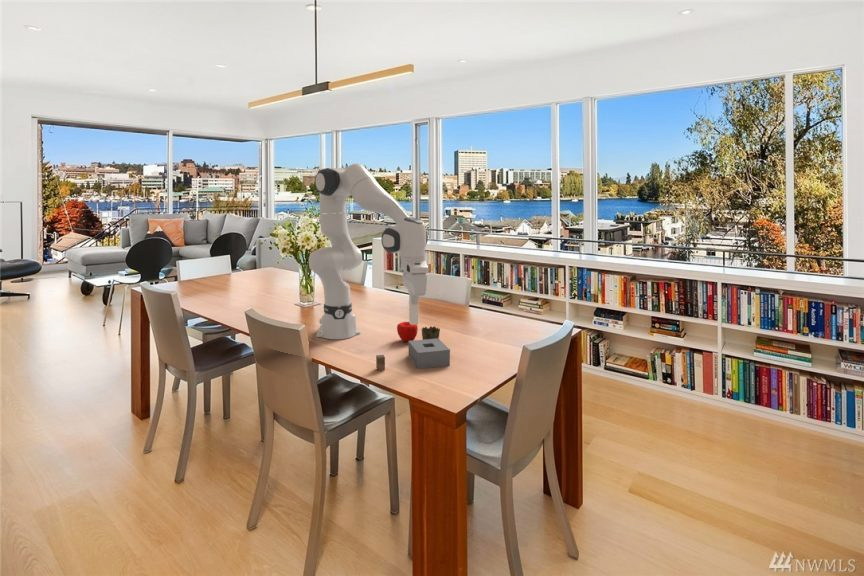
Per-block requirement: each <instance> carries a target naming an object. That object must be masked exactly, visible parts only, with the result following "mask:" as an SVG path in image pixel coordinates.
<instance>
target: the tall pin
mask: <svg viewBox="0 0 864 576" xmlns="http://www.w3.org/2000/svg"><path fill="white" fill-rule="evenodd" d="M408 297H409V299H408V304H409V305H408V307H409V309H408V312H409V313H408V316H409V317H408V319H409V321H408V322H409V323H410V324H411V325H415V324H417V325H419V303H418V304H417V305H414V304H413V303H412V299H413V295H412V292H411V291H410V290H409V292H408Z"/></svg>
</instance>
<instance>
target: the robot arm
mask: <svg viewBox="0 0 864 576" xmlns="http://www.w3.org/2000/svg"><path fill="white" fill-rule="evenodd" d="M314 185H315V188H316V190H317V192H318V193H319V200H318V201H319V202H318V203H319V208H318V209H319V210H318V211H319V222H320V223H319V225H320V232H321V234H322V235H323V236H325V237H326V238H328V240H329V241H330V244H331V246H329V247H328V246H327V247H321V248H318V249H315V250H313V251H312V252H311V253H310V254H309V256H308V265H309V268H310V270H311V271H312V272H313V273H314V274H316V275H317V276H318V278H319V279H320V281H321V284H322V285H323V297H324V298H323V299H324V304H323V315H322V316H321V318H319V325H320V326H319V329H318V331H317V333H316V337H317V338H324V339H328V340H346V339H349V338H352V337H353V338H354V336H356V335H361V330H359V329H358V328H357V319H356V315H355V314H354V313H353V305H352V301H351V286H350V284H349V283H348V282H347V281H345V280H343V278H342V275H341V272H345V271H347V272H348V271H351V270H354V269H356V268H358V267H359V266H361V264H362V261H363V253H362V251H361V249H360V248H359V247H358V246H357V245H355V243H354V242H353V241H352V238H351V235H350V232H349V227H348V217H347V204H346V201H347V199H348V197H350V198H351V199H353V201H354V202H355V204H356V205H357V206H358V207H359V208H361V209H363V210H365V211H368V212H373V213H378V214H381V215H384V216H387V217H389V218H390V219H392V220H393V222H394V223H395V225H392V226H388V227H386V228H385V229H384V230H383V232H382V234H381V238H380V239H381V245H382V248H383V249H384V250H385V251H386V252H387V253H389V254H400V269H401V271H402V285H403V287H405V288H406V289H407V290H408V291H407V292H408V293H409V290H410V291H411V292H412V295H413V299H412V303H413V304H414V305H417V304H418V305H419V297H421V296H426V294H427V286H428V285H427V283H428V273H429V266H428V264H427V253H426V246H427V244H428V240H429V236H428V232H427V229H426V224H425V222H424V221H423V220H422V219H421V218H417V217H412V216H411V215H410V213H409V212H408V211H407V209H405V208H404V207H403V205H402V204H400V202H399V201H398V200H397V198H395V197H393V196H392V195H390V193H389V192H387V191H386V190H385V189H384V188H383V186H381V185H380V184H379V182H378V181H377V180H376V178H375V177H374V176H373V174H372V173H371V172H370V171H369V170H368V169H367V168H366V167H365V166H364V165H363V164H361V163H352V164H350V165H349V166H347V167H334V168H329V167H327V168H321V169H319V170H318V172H316V175H315V178H314Z"/></svg>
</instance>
